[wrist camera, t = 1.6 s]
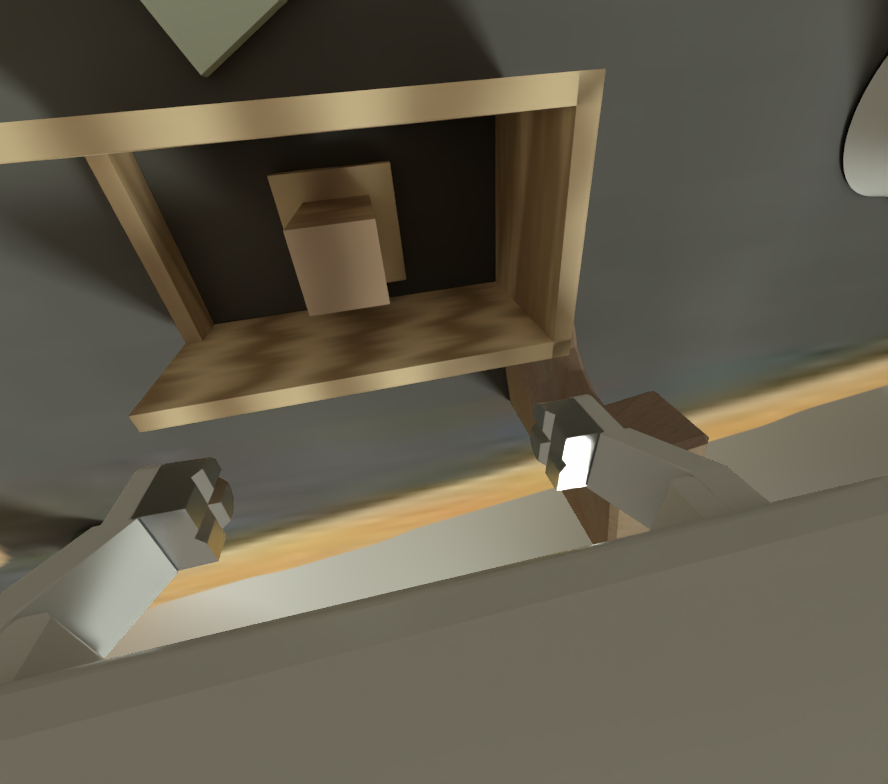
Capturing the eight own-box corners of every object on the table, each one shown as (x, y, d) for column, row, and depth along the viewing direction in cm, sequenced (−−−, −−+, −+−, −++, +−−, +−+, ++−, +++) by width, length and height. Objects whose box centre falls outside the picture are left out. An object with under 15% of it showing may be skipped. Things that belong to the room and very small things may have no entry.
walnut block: (369, 194, 26) (375, 219, 19) (380, 260, 29) (389, 303, 21) (302, 202, 26) (282, 230, 18) (320, 268, 28) (309, 316, 21)
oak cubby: (511, 91, 26) (605, 68, 16) (508, 292, 34) (569, 355, 25) (100, 130, 23) (-82, 130, 13) (205, 339, 31) (140, 432, 22)
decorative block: (496, 314, 36) (616, 467, 19) (553, 298, 36) (719, 436, 20) (508, 404, 42) (605, 574, 26) (556, 390, 42) (682, 549, 26)
